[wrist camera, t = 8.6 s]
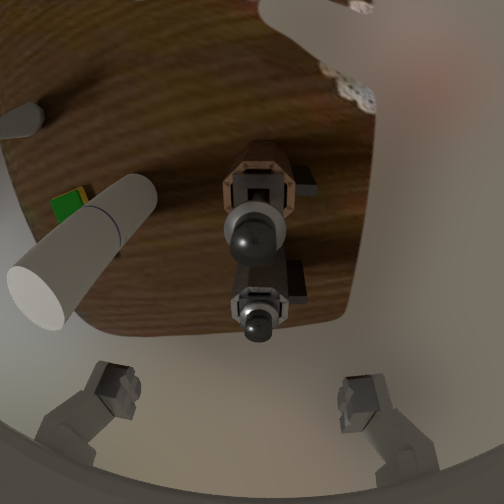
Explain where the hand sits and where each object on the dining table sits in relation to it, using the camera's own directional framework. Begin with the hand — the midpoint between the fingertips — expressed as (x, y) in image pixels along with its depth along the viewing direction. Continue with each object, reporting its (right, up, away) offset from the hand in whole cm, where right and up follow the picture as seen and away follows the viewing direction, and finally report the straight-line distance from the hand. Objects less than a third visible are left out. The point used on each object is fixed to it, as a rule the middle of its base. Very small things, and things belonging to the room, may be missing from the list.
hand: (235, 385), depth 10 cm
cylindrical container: (-17, +14, +31) cm, 38 cm away
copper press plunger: (+1, +12, +19) cm, 23 cm away
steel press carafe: (+3, +5, +35) cm, 35 cm away
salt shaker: (-35, +28, +24) cm, 51 cm away
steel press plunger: (+2, +2, +31) cm, 32 cm away
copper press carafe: (+3, +17, +28) cm, 33 cm away
